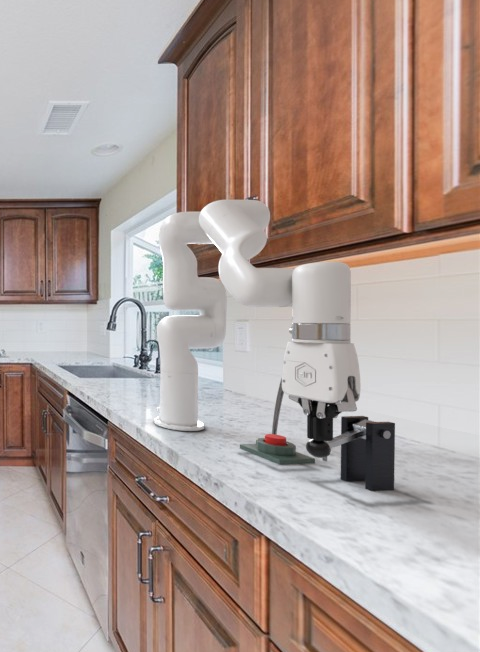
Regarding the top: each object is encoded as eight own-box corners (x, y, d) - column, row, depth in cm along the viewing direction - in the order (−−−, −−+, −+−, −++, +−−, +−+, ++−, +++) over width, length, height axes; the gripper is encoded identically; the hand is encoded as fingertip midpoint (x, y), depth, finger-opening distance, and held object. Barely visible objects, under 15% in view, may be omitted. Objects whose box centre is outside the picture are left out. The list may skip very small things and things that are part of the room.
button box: (239, 453, 87) (239, 436, 87) (271, 452, 88) (271, 434, 88) (279, 470, 77) (279, 451, 77) (315, 469, 78) (315, 449, 78)
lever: (321, 463, 65) (317, 445, 65) (303, 456, 69) (298, 439, 68) (386, 438, 67) (382, 421, 66) (365, 432, 70) (361, 416, 70)
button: (260, 442, 84) (260, 434, 84) (275, 441, 85) (275, 433, 85) (275, 447, 81) (275, 439, 81) (290, 446, 81) (290, 438, 81)
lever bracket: (367, 505, 63) (368, 427, 63) (313, 482, 72) (313, 414, 72) (426, 502, 64) (427, 425, 64) (365, 479, 73) (366, 412, 73)
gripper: (263, 333, 74) (263, 428, 74) (347, 335, 59) (346, 455, 59) (298, 333, 75) (298, 427, 75) (390, 335, 60) (390, 453, 60)
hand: (319, 439), depth 67 cm, fingers closed
